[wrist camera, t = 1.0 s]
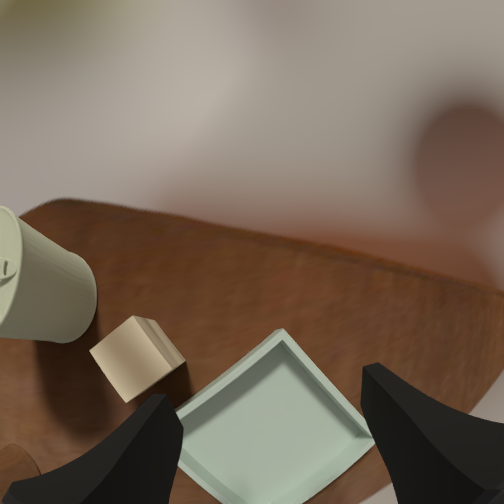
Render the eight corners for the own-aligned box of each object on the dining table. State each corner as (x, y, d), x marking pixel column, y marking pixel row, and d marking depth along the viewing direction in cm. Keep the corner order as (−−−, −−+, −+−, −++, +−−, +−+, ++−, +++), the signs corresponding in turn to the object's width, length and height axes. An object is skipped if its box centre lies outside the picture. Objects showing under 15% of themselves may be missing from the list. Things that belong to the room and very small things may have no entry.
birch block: (149, 388, 21) (125, 402, 15) (119, 348, 21) (89, 350, 16) (186, 360, 22) (172, 368, 16) (155, 320, 23) (132, 315, 17)
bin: (256, 512, 17) (259, 528, 14) (155, 422, 20) (146, 432, 17) (366, 428, 21) (381, 436, 18) (276, 329, 23) (283, 328, 20)
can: (97, 347, 21) (12, 347, 10) (29, 338, 20) (-54, 327, 9) (100, 250, 24) (30, 193, 12) (34, 253, 23) (-38, 209, 12)
